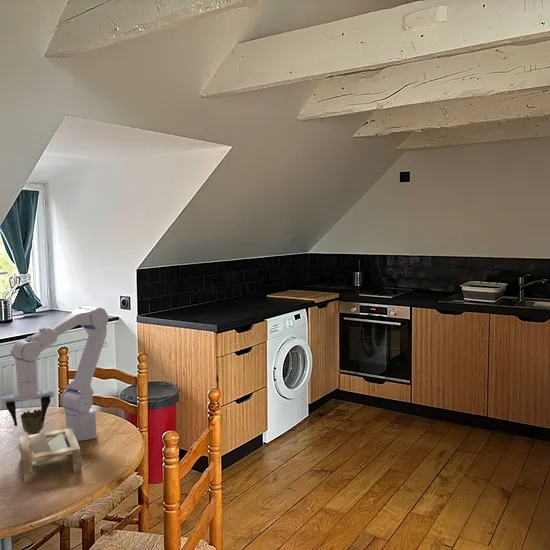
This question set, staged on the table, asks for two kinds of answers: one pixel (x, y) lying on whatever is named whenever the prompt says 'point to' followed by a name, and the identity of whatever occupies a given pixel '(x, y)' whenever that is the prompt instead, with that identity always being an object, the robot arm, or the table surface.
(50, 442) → the flap
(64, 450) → the stand
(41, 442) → the beige cube
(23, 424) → the cup
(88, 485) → the table surface
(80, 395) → the robot arm
